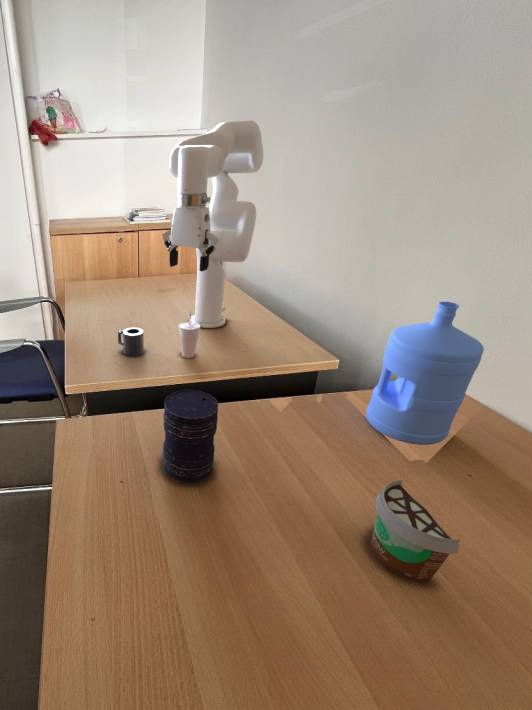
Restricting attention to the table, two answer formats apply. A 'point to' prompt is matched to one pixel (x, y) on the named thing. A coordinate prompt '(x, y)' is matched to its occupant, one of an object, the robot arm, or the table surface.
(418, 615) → the table surface
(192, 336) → the smoothie
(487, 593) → the table surface
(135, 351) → the mug
